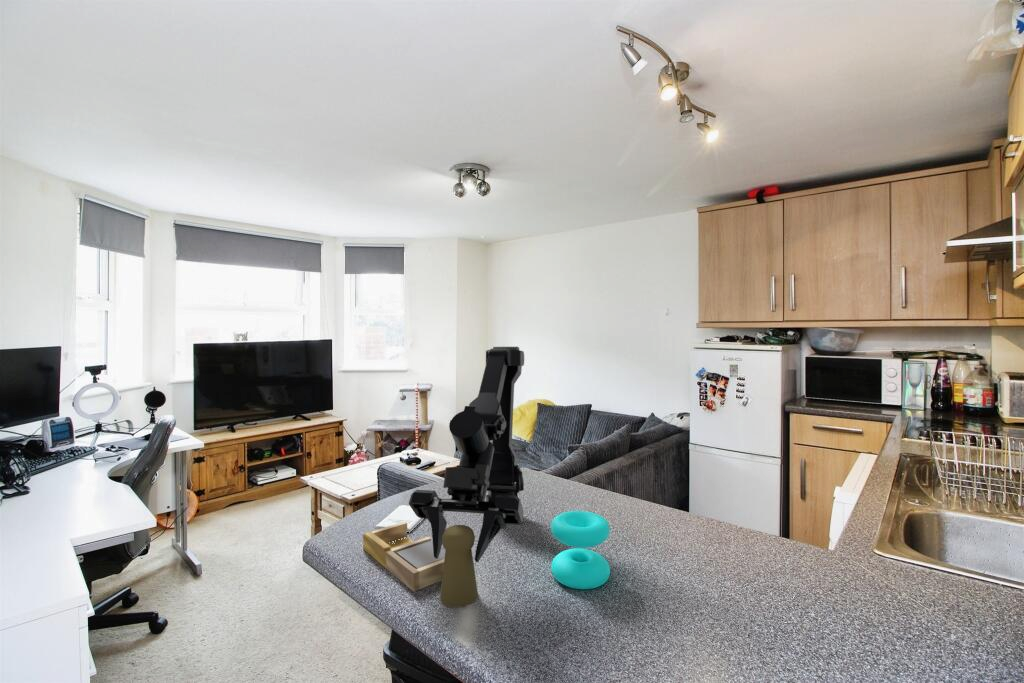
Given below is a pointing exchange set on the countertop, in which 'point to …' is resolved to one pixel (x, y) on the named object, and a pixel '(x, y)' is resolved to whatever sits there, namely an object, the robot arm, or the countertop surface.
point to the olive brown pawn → (458, 567)
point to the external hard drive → (400, 518)
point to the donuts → (580, 549)
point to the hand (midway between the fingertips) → (455, 559)
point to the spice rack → (405, 556)
